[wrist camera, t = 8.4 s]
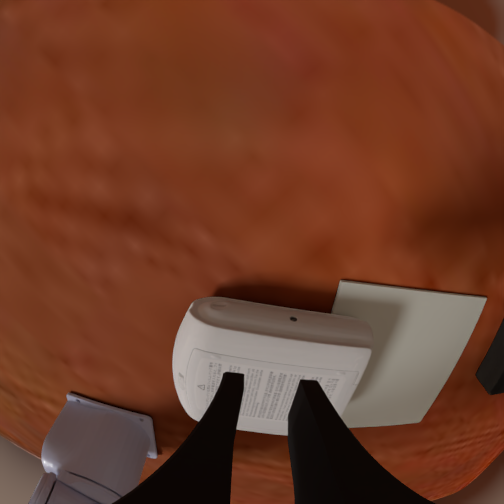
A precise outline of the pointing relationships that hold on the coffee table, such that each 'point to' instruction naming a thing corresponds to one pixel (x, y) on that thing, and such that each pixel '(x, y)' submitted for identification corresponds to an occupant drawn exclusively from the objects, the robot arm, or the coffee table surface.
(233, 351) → the photo printer
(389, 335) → the mat
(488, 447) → the coffee table surface
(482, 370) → the coral
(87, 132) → the coffee table surface
